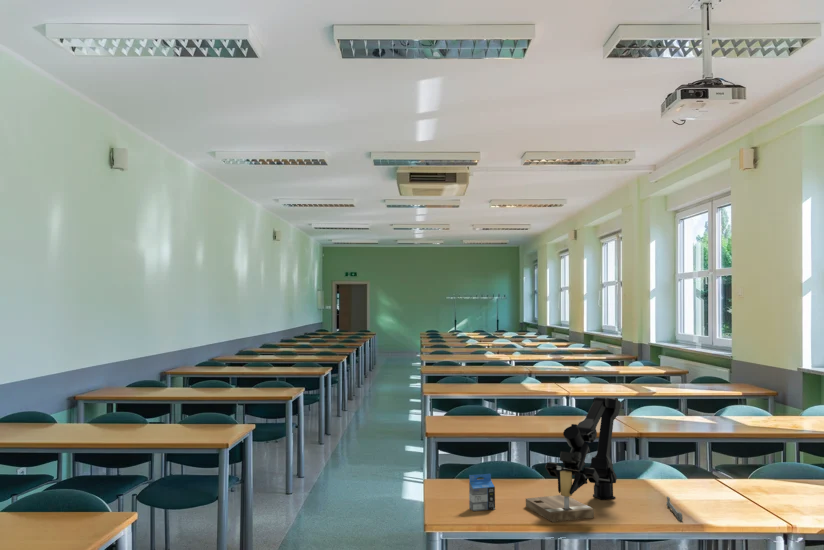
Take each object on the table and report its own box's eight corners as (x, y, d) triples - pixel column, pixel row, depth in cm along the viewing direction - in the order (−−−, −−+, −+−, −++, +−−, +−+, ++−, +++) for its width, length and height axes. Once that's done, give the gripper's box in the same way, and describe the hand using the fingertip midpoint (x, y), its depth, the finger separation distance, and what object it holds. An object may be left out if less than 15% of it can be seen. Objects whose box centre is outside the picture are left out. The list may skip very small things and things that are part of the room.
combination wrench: (682, 512, 234) (669, 495, 253) (678, 512, 234) (665, 495, 254) (682, 523, 234) (669, 505, 253) (678, 523, 234) (665, 505, 254)
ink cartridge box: (472, 511, 247) (472, 477, 248) (469, 508, 251) (468, 475, 252) (495, 509, 250) (494, 475, 250) (491, 506, 253) (490, 473, 254)
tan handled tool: (565, 509, 242) (564, 470, 242) (575, 512, 239) (574, 472, 239) (558, 512, 239) (557, 471, 240) (568, 514, 236) (567, 473, 237)
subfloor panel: (565, 502, 258) (564, 494, 258) (594, 517, 238) (593, 508, 239) (525, 506, 253) (525, 498, 253) (552, 522, 234) (551, 513, 234)
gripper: (546, 439, 249) (532, 475, 240) (594, 445, 237) (582, 483, 228) (557, 457, 255) (543, 493, 246) (604, 464, 243) (592, 502, 234)
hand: (564, 492), depth 238 cm, fingers closed on tan handled tool, 4 cm apart
